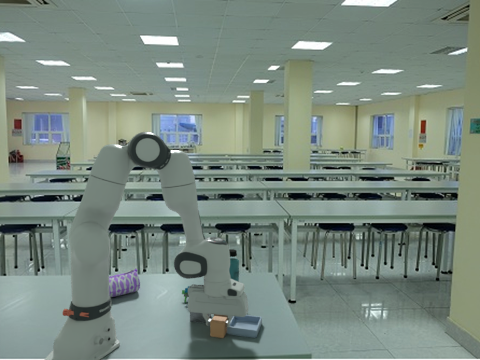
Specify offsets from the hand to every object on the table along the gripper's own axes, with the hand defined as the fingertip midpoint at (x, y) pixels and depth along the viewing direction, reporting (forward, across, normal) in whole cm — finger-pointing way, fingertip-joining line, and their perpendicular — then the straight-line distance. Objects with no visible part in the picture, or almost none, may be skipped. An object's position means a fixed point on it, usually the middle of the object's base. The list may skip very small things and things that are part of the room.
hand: (218, 325), depth 133 cm
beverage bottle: (+3, -3, +28) cm, 28 cm away
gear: (+3, -16, +22) cm, 28 cm away
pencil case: (+2, -50, +18) cm, 53 cm away
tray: (+3, +8, +5) cm, 10 cm away
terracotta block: (+3, 0, 0) cm, 3 cm away
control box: (+2, -9, +8) cm, 12 cm away
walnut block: (+3, -2, +9) cm, 10 cm away
